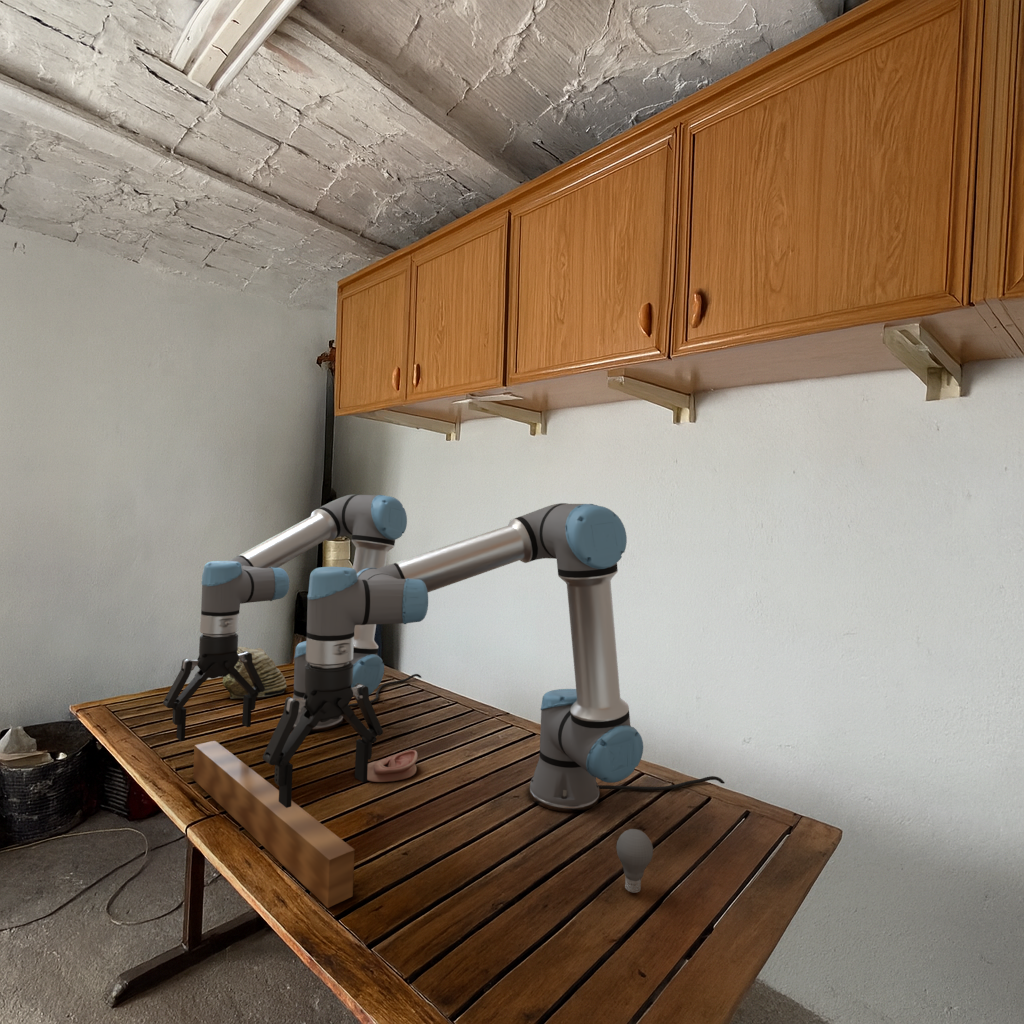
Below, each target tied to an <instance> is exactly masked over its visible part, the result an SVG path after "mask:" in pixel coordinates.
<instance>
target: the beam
mask: <svg viewBox="0 0 1024 1024" xmlns="http://www.w3.org/2000/svg"><path fill="white" fill-rule="evenodd" d="M193 746H194V747H193V749H194V750H193V770H192V771H193V773H192V775H193V776H192V778H193V779H192V780H193V781H194V782H195V783H196V784H197V785H198V786H199V787H201V788H202V789H203V790H204V791H205V792H206V793H207V794H208V795H209V796H210V797H211V798H212V799H213V800H214V801H215V802H216V803H217V804H218V805H219V806H220V807H222V809H224V810H225V812H227V814H229V815H230V816H231V817H232V818H233V819H234V820H235V821H236V822H237V823H238V824H239V825H240V826H241V827H242V828H243V829H244V830H245V831H247V832H248V834H250V835H251V837H253V838H254V839H255V840H256V841H257V842H258V843H259V844H260V845H261V846H262V847H263V848H264V849H265V850H266V851H267V852H268V853H270V855H272V856H273V858H275V859H276V861H278V862H279V863H280V864H281V865H282V866H283V867H284V868H285V869H286V870H287V871H288V872H289V873H290V874H291V875H292V876H293V877H294V878H296V879H297V880H298V882H300V883H301V884H302V885H303V886H304V887H305V888H306V889H307V890H308V891H309V892H310V893H311V894H312V895H313V896H314V897H315V898H316V899H317V900H319V902H321V903H322V904H323V905H324V906H325V908H327V909H329V908H331V907H333V906H335V905H338V904H340V903H342V902H344V901H346V900H349V899H350V898H352V897H353V896H354V876H355V875H354V873H355V851H356V850H355V849H354V847H352V846H351V845H350V844H348V843H347V842H345V841H344V840H343V839H342V838H341V837H339V836H338V835H337V834H335V833H334V832H333V831H331V830H330V829H329V828H328V827H326V826H325V825H323V823H321V821H319V820H318V819H316V818H315V817H314V816H312V815H311V814H310V813H308V811H306V810H305V809H304V808H302V807H301V806H300V805H298V804H297V803H296V802H294V801H293V800H292V799H291V807H288V808H286V807H285V806H284V805H282V804H281V803H280V802H279V788H276V787H275V786H274V785H273V784H272V783H270V782H269V781H267V779H265V778H263V776H261V775H260V774H259V773H258V772H256V771H255V770H254V769H252V768H251V767H249V765H247V764H246V763H244V761H242V760H240V759H239V758H238V757H237V756H236V755H234V754H233V753H232V752H231V751H229V750H228V749H227V748H226V747H224V746H223V745H222V744H220V743H219V742H218V741H216V740H211V741H206V742H202V743H197V744H194V745H193Z"/></svg>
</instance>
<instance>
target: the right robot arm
mask: <svg viewBox="0 0 1024 1024" xmlns="http://www.w3.org/2000/svg"><path fill="white" fill-rule="evenodd" d="M627 537H628V536H627V531H626V528H625V525H624V523H623V521H622V519H621V518H620V516H618V515H617V514H616V513H615V512H614V511H613V510H611V509H610V508H608V507H606V506H601V505H597V504H594V503H568V502H567V503H565V502H560V503H555V504H554V503H553V504H550V505H548V506H544V507H542V508H539V509H537V510H534V511H531V512H528V513H526V514H523V515H520V516H518V517H515V518H512V519H510V520H509V522H508V524H507V525H506V526H503V527H500V528H497V529H493V530H490V531H487V532H484V533H482V534H481V533H480V534H478V535H475V536H473V537H470V538H466V539H463V540H460V541H456V542H453V543H451V544H447V545H445V546H442V547H439V548H436V549H432V550H429V551H426V552H424V553H420V554H417V555H415V556H412V557H408V558H405V559H402V560H398V561H396V562H394V563H391V564H386V566H384V567H381V568H366V569H363V570H361V571H360V572H358V573H357V572H356V570H355V569H353V567H349V566H348V567H347V566H322V567H321V566H320V567H316V568H314V569H313V570H311V572H310V573H309V574H310V575H309V581H308V593H307V611H306V640H305V641H306V661H307V662H308V664H307V665H306V666H305V695H304V697H303V698H299V699H293V697H291V696H288V697H286V699H285V700H284V707H283V711H282V714H281V716H280V718H279V721H278V722H277V725H276V727H275V729H274V731H273V733H272V735H271V738H270V739H269V742H268V744H267V746H266V748H265V750H264V753H263V754H262V760H263V761H264V762H265V763H267V764H269V765H270V766H274V778H273V779H274V783H275V785H276V786H278V790H279V802H280V803H281V804H282V805H284V806H285V807H286V808H288V807H291V800H292V799H293V798H292V795H293V793H292V792H293V770H294V769H293V768H294V765H293V764H292V763H291V762H290V761H291V760H292V758H293V757H294V755H295V754H296V752H297V751H298V750H299V748H300V747H301V745H302V744H303V743H304V741H305V739H306V738H307V737H308V735H309V734H310V733H311V732H310V731H311V729H312V728H314V727H315V726H316V725H317V724H318V722H319V721H320V722H326V721H328V720H330V719H339V717H340V716H341V715H342V716H343V720H344V721H346V722H347V723H348V724H349V726H351V728H352V729H353V730H354V732H356V733H357V735H358V736H359V737H360V738H358V739H356V740H355V741H356V742H355V759H354V760H355V761H354V778H355V779H357V780H358V781H359V782H361V783H363V784H364V783H367V782H368V780H367V772H368V763H369V760H371V759H372V753H373V744H375V743H376V742H377V737H381V736H382V735H383V734H384V730H383V728H382V726H381V725H382V724H381V723H380V720H379V717H378V716H377V714H376V711H375V709H374V706H373V705H372V703H371V702H370V701H371V699H370V695H369V691H368V687H367V686H364V685H362V684H360V683H357V684H356V685H355V687H353V688H351V685H352V682H353V664H352V663H351V662H350V661H351V660H353V650H354V630H355V625H369V624H376V625H399V624H401V625H402V624H403V625H407V624H412V623H421V622H422V621H423V620H424V619H425V618H426V616H427V613H428V610H429V593H430V592H434V591H436V590H439V589H443V588H445V587H448V586H450V585H453V584H457V583H459V582H461V581H462V582H463V581H465V580H468V579H470V578H474V577H476V576H479V575H482V574H484V573H488V572H490V571H493V570H496V569H499V568H501V567H504V566H508V565H510V564H513V563H515V562H519V561H520V562H522V563H524V564H528V563H530V562H533V561H537V560H542V559H554V560H555V559H556V567H557V576H558V577H559V578H560V579H561V580H562V581H563V582H565V584H566V592H567V593H566V594H567V601H568V602H567V605H568V614H569V625H570V637H571V648H572V658H573V667H574V668H573V669H574V670H573V671H574V680H575V681H574V682H575V688H560V689H559V688H558V689H551V690H548V691H547V692H545V693H544V694H543V696H542V699H541V705H540V731H539V733H540V734H539V756H538V761H537V762H536V763H537V764H536V766H535V770H534V773H533V776H532V778H531V780H530V783H529V796H530V799H531V800H532V801H533V802H535V803H536V804H538V805H539V806H541V807H543V808H546V809H547V810H548V809H549V810H552V811H557V812H563V813H564V812H565V813H566V812H567V813H575V812H583V811H587V810H590V809H592V808H594V807H595V806H597V804H598V803H599V801H600V790H620V791H621V790H622V791H624V790H625V791H649V792H652V791H657V792H658V791H669V790H675V789H679V788H683V787H686V786H690V785H696V784H701V783H704V782H708V781H717V782H719V783H720V784H725V783H726V781H724V780H723V779H722V778H721V777H718V776H714V775H709V776H705V777H702V778H698V779H692V780H686V781H684V782H680V783H676V784H672V785H664V786H639V785H638V786H636V785H612V784H614V783H618V782H621V781H624V780H625V779H627V778H628V777H629V776H631V774H633V773H634V771H635V769H636V767H638V766H639V764H640V763H641V760H642V757H643V754H644V741H643V737H642V735H641V733H639V731H638V730H637V728H635V727H633V726H631V716H630V707H629V704H628V703H627V701H625V700H624V699H623V698H622V697H621V690H620V689H621V688H620V675H619V665H618V653H617V651H618V650H617V641H616V630H615V629H616V627H615V618H614V616H615V615H614V605H613V593H612V579H613V578H614V577H615V576H616V574H617V573H618V571H619V569H618V562H620V561H621V559H622V555H623V554H625V552H626V548H627V543H628V542H627ZM353 698H354V699H355V701H356V703H358V708H359V710H360V713H361V715H362V717H363V719H364V722H365V724H366V725H365V724H364V723H363V722H362V721H361V720H360V718H359V717H358V716H357V715H356V714H355V711H354V710H353V709H352V707H349V706H348V704H350V702H351V701H352V699H353ZM303 706H304V707H305V708H306V709H305V711H304V712H303V714H302V715H301V717H300V721H299V722H298V724H297V725H296V727H295V728H294V729H293V730H292V728H293V726H294V724H295V722H296V719H297V716H298V713H300V712H301V708H302V707H303ZM310 716H312V718H311V719H309V718H310ZM597 779H598V780H600V781H601V782H604V783H607V784H598V782H597ZM608 783H609V784H610V785H608Z"/></svg>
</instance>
